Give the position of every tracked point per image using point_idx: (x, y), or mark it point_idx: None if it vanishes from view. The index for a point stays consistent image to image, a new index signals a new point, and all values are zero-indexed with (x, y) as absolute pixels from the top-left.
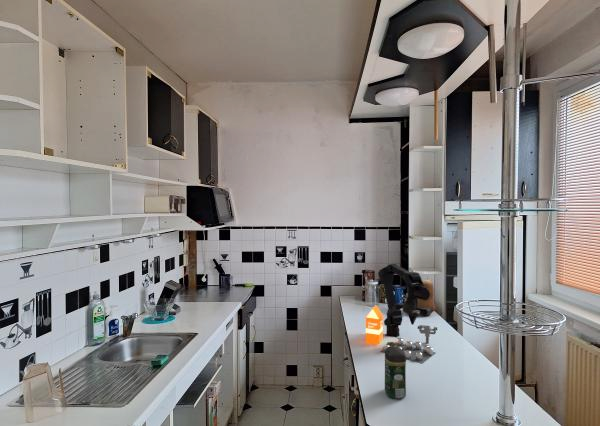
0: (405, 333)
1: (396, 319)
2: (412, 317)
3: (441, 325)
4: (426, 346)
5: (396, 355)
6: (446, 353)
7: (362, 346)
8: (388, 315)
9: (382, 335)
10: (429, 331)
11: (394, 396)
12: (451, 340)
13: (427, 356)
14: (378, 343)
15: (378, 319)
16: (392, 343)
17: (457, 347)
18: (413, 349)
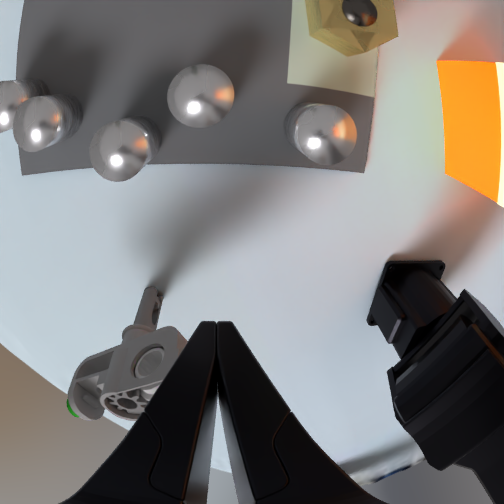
0: (341, 360)
1: (449, 369)
2: (184, 455)
3: (230, 466)
4: (27, 117)
5: None
6: (4, 226)
7: (489, 14)
8: None
9: (469, 179)
10: (109, 366)
11: None
12: None
13: (33, 62)
14: (449, 61)
15: None
16: (351, 13)
17: (34, 336)
18: (167, 103)
